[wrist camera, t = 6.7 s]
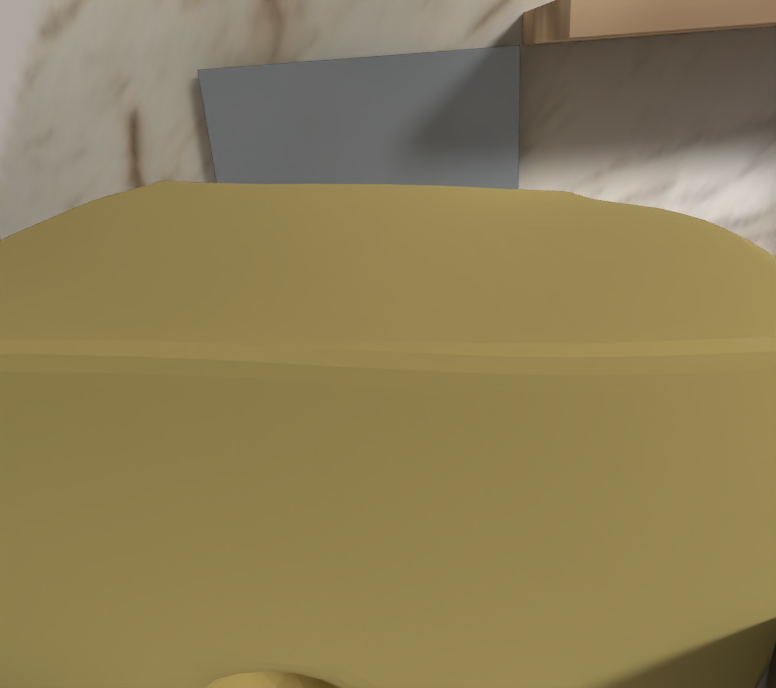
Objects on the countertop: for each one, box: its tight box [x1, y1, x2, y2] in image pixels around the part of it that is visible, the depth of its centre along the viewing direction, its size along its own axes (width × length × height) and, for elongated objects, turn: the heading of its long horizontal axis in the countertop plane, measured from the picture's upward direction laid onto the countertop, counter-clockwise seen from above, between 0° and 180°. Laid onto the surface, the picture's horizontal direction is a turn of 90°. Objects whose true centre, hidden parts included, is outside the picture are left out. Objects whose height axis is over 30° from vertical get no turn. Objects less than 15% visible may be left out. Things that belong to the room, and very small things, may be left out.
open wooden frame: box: [523, 0, 776, 45], centre depth 26 cm, size 17×18×7 cm
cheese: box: [0, 181, 776, 688], centre depth 12 cm, size 10×11×10 cm
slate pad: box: [198, 45, 520, 190], centre depth 29 cm, size 15×13×1 cm
